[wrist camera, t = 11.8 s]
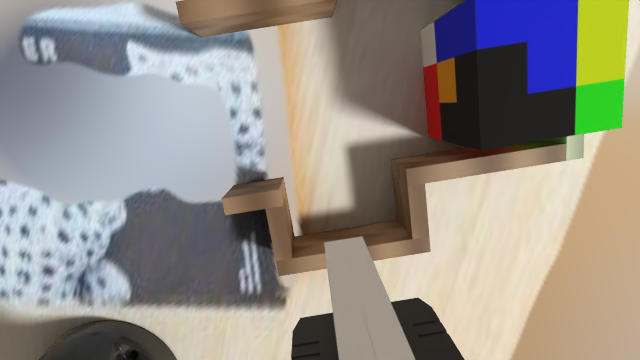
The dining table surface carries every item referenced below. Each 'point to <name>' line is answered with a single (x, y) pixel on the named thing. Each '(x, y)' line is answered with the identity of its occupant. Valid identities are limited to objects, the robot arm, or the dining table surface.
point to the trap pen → (408, 173)
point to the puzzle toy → (524, 70)
